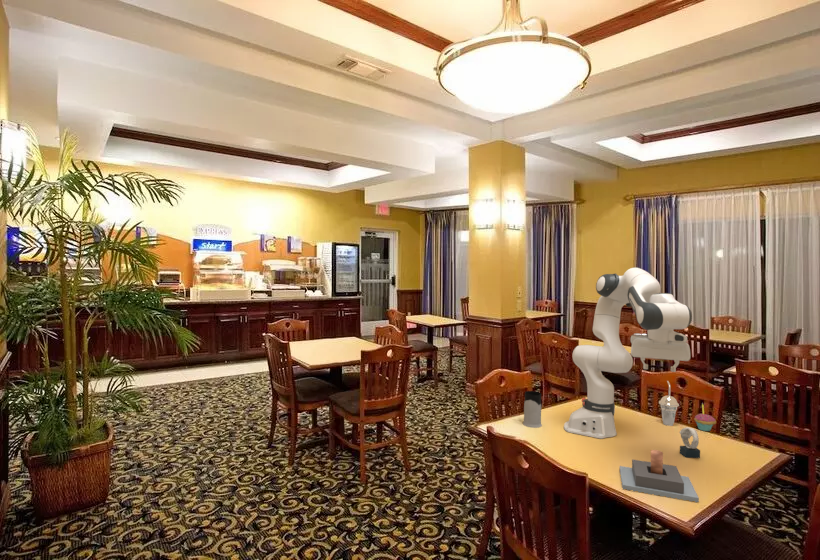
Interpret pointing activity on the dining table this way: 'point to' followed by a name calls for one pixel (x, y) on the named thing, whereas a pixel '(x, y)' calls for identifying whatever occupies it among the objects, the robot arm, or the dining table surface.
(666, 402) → the cup with straw
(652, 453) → the brown upright cylinder
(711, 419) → the cupcake
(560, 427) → the dining table surface
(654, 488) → the tool stand
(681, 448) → the watch
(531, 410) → the glass holder
